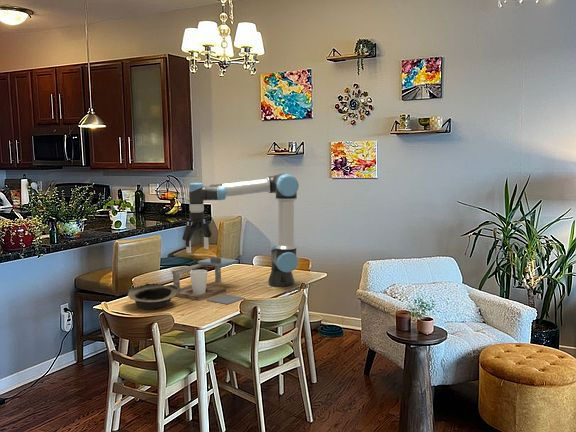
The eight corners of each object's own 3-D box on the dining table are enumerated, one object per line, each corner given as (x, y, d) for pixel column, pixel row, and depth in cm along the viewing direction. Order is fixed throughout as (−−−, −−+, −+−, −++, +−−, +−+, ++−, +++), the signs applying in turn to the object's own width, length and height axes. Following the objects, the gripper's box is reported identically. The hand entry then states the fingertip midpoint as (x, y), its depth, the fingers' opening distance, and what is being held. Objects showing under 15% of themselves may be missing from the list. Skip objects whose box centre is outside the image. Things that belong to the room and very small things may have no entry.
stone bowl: (157, 296, 295) (157, 279, 293) (187, 307, 279) (188, 290, 278) (117, 305, 276) (117, 288, 274) (147, 318, 260) (148, 299, 259)
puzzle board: (245, 285, 318) (244, 262, 316) (198, 300, 285) (197, 275, 284) (216, 280, 330) (216, 258, 328) (168, 295, 298) (168, 270, 296)
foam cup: (209, 292, 301) (209, 269, 300) (205, 297, 292) (205, 273, 291) (193, 292, 302) (192, 269, 301) (188, 296, 293) (187, 273, 292)
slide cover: (238, 262, 315) (238, 255, 314) (222, 266, 303) (222, 259, 303) (214, 259, 325) (214, 252, 324) (198, 263, 313) (197, 255, 313)
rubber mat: (244, 298, 289) (244, 297, 289) (227, 304, 277) (227, 303, 277) (224, 294, 296) (224, 294, 296) (207, 300, 285) (206, 299, 285)
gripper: (207, 209, 304) (208, 246, 307) (174, 213, 284) (176, 253, 286) (217, 209, 300) (218, 248, 303) (185, 214, 280) (186, 255, 282)
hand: (197, 250), depth 295 cm, fingers open, 13 cm apart
